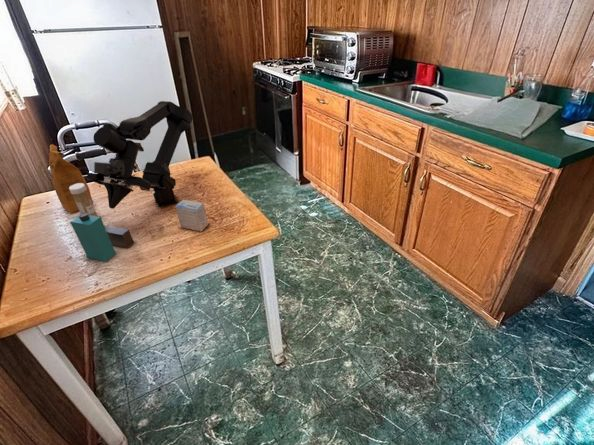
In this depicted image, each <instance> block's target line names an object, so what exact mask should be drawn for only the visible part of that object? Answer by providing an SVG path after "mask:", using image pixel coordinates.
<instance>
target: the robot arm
mask: <svg viewBox="0 0 594 445" xmlns="http://www.w3.org/2000/svg"><path fill="white" fill-rule="evenodd" d="M164 119H166V120H165V121H166V124H167V129H166V131H165V134H164V136H163V139H162V141H161V144H160V146H159V149H158V151H157V154H156V156H155V159H154V160H153V161H152V162H150V161H147V162H146V163H145V165H144V169H143V170H142V171H141V172H142V176H134V175H133V173H134V170H138V166H137V165H136V162H137V157H138V155H139V152H144V151H145V149H144V147H143V146H142V143H141V142H135V141H145V140H146V139H147V137H149V135H150V134H151V130H152V128H153V127H155V126H156V125H157V124H158V123H160V122H162V121H163V120H164ZM192 121H193V114H192V113H191V111H190V110H189V109H188V108H185V107H182V106H180V105H178V104H176V103H174V102H172V101H166V100H160V101H159V102H157V104H155V105H154V106H152V107H151V108H149V109H148V110H145V112H143V113H142V114H140V115H139V116H135V117H128V118H126V119H123V120H122V121H120V122H119V125H117V126H116V127H114V126H113V125H112V124H110V123H103V125H102V127H100V128H98V129H97V130H96V132H94V134H93V138H92V139H93V143H94V144H95V145H97V146H99V147H100V148H102V149H104V150H106V151H107V152H109V153H111V154H115V155H114V157H111V158H110V159H108V160H109V161H107V162H106V161H93V165H94V166H93V168H94V170H93V171H92V170H91V171H89V172H87V175H86V179H85V180H88V181H90V182H93V183H95V184H98V185H100V186H101V185H102V186H104V187H105V189H106V193H107V199H108V200H107V202H108V207H109V209H115V208H116V207H117V206H118V205H119V204H120V203H121V202H122V201H123V200H124V199H125V198H126V197H127V196H128V195H129V194H130V193H132V192H134V189H133V187H139V189H140V190H141V191H144V192H150V191H151V189H153V190H152V195H153V199H154V202H155V204H156V205H157V206H158V208H161V207H166V206H170V205H173V204H176V203H177V204H178V201H177V199H176V197H175V193H174V189H175V186H176V185H177V181H176V179H175V178H173V177H172V176H171V170H170V165H171V161H172V160H173V157H174V154H175V151H176V148H177V146H178V144H179V141H180V138H181V135H182V134H183V133H184V132H185V131H187V130H188V129H189V128H190V125H191V124H192V123H193V122H192Z"/></svg>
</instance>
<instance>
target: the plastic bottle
mask: <svg viewBox="0 0 594 445" xmlns="http://www.w3.org/2000/svg"><path fill="white" fill-rule="evenodd" d="M69 223H70V225H71V227H72V229H73V231H74V233H75V235H76V238H77V239H78V242H79V243H80V245H81V247H82V249H83V251H84V253H85V255H86V257H87V259H90V260H96V261H101V262H108V261H109V260H110V259H111V258H112V257H114V256H115V255H116V254H117V253H116V250H115V248H114V245H112V243H111V241H110V238H109V236H108V234H107V231H106V229H105V227H104V225H105V224H104V222H103V219H102V217H101V216H98V217H96V216H90V215H88V214H87V213H82V214H81V213H80V214H79V215H78V216H76V217H75V218H73V219H72V220H70V221H69Z"/></svg>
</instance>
